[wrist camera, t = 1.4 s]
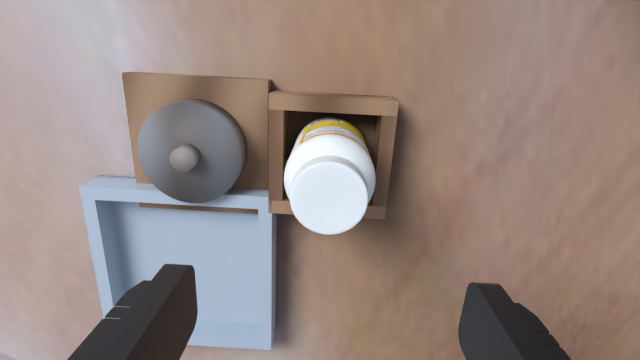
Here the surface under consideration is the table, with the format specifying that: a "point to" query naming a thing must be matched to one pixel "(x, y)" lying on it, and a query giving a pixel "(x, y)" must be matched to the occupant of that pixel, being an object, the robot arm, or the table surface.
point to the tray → (189, 255)
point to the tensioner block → (234, 137)
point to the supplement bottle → (329, 176)
